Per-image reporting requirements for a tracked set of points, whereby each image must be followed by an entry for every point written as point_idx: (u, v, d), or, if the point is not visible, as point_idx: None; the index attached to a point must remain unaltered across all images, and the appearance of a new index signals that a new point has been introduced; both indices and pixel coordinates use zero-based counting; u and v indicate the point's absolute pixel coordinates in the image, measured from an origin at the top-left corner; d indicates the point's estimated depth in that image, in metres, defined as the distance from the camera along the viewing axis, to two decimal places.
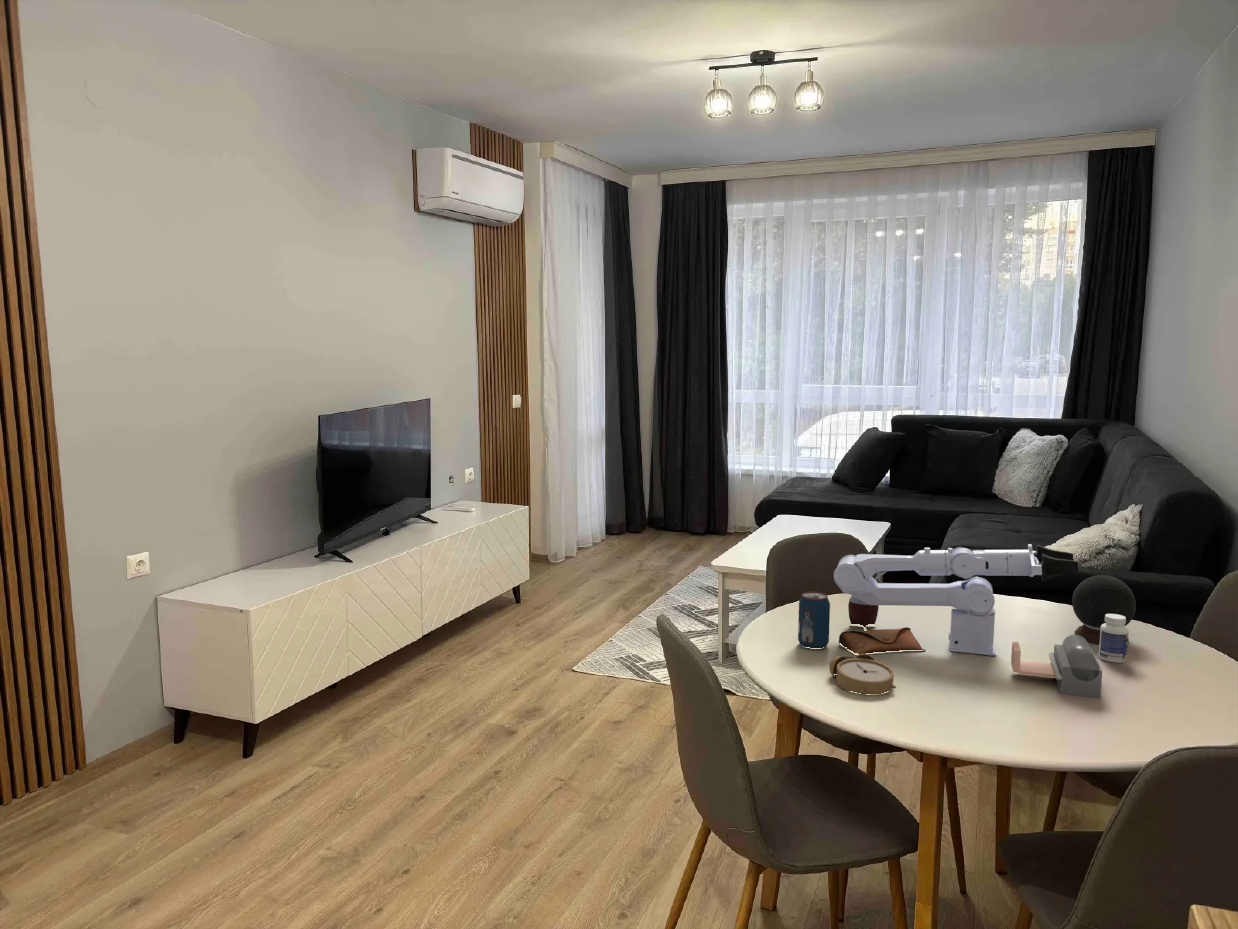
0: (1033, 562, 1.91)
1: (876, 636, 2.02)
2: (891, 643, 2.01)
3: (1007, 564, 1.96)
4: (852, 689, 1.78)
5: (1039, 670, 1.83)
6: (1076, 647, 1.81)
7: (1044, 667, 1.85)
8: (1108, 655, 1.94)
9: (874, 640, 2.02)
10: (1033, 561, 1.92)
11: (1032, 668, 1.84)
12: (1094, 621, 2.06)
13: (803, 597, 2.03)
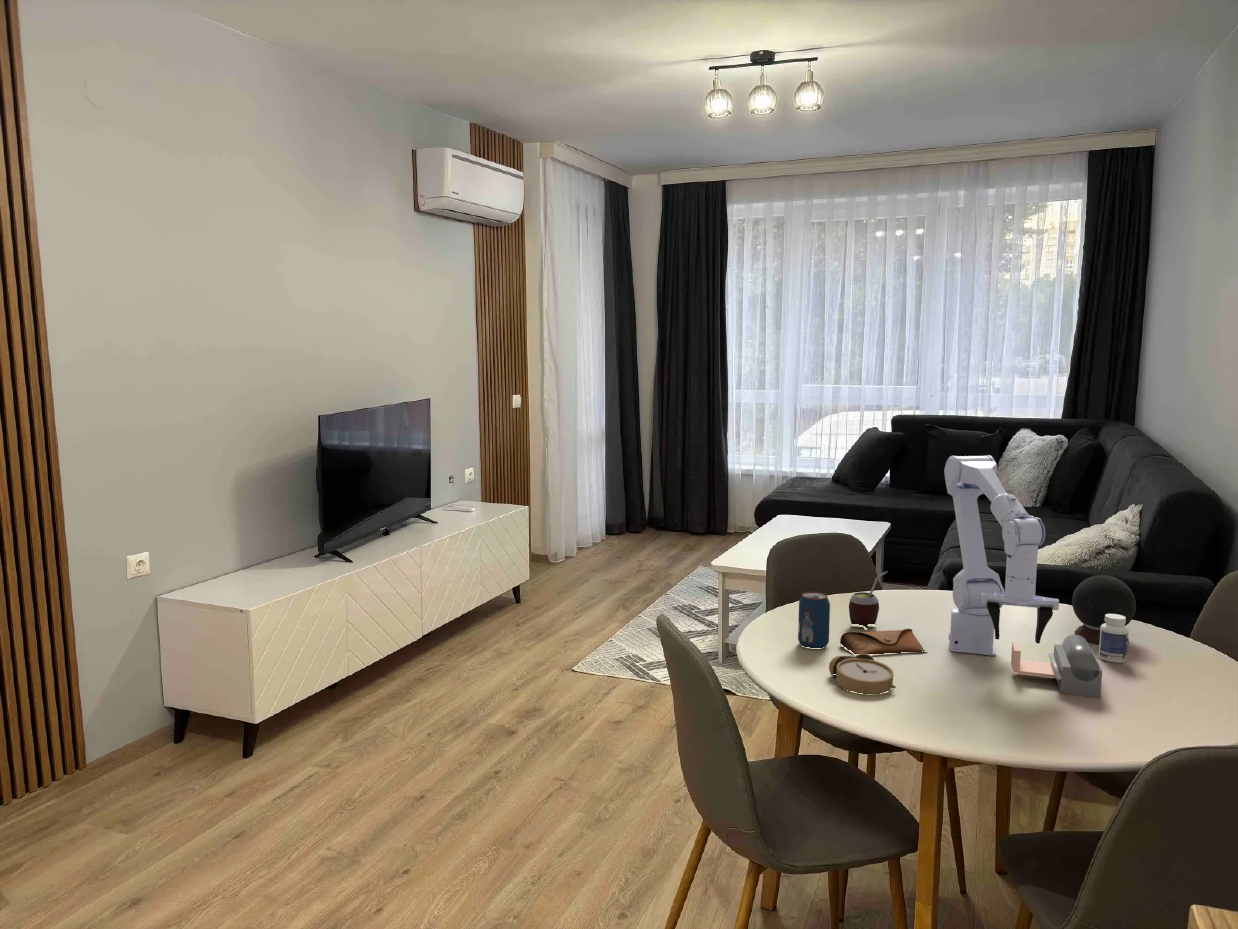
0: (991, 598, 1.85)
1: (878, 637, 2.01)
2: (893, 644, 2.00)
3: None
4: (852, 689, 1.78)
5: (1039, 670, 1.83)
6: (1076, 647, 1.81)
7: (1044, 667, 1.85)
8: (1108, 655, 1.94)
9: (876, 641, 2.01)
10: (993, 598, 1.85)
11: (1032, 668, 1.84)
12: (1094, 621, 2.06)
13: (803, 597, 2.03)
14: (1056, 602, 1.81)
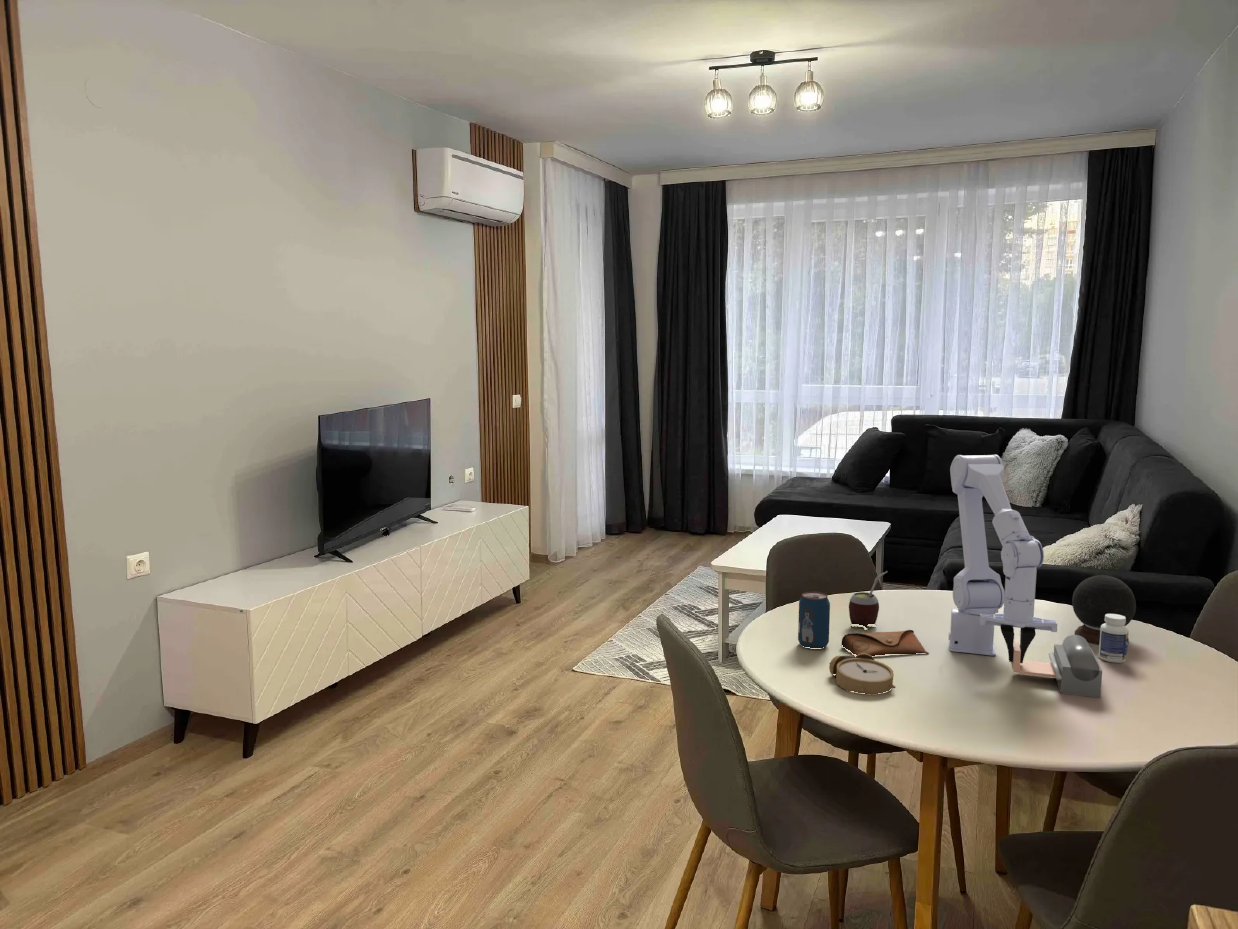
0: (990, 619, 1.86)
1: (879, 639, 2.01)
2: (894, 645, 1.99)
3: (1004, 596, 1.85)
4: (852, 689, 1.78)
5: (1039, 670, 1.83)
6: (1076, 647, 1.81)
7: (1044, 667, 1.85)
8: (1108, 655, 1.94)
9: (877, 643, 2.00)
10: (992, 620, 1.85)
11: (1032, 668, 1.84)
12: (1094, 621, 2.06)
13: (803, 597, 2.03)
14: (1054, 624, 1.82)
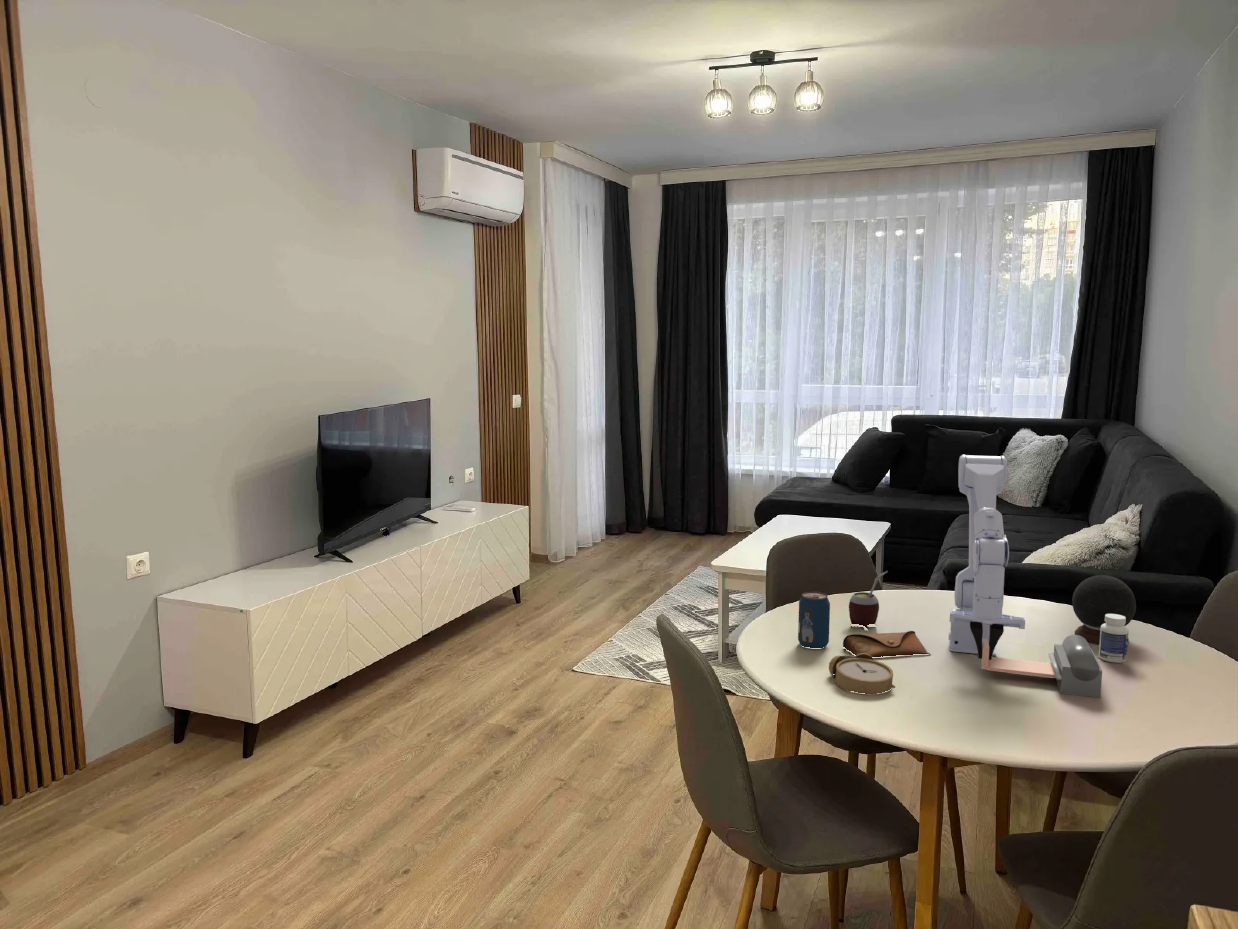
0: (959, 616, 1.88)
1: (881, 640, 2.00)
2: (896, 646, 1.98)
3: (973, 593, 1.87)
4: (851, 689, 1.78)
5: (1007, 667, 1.85)
6: (1076, 647, 1.81)
7: (1013, 664, 1.87)
8: (1108, 655, 1.94)
9: (879, 644, 1.99)
10: (961, 617, 1.87)
11: (1001, 665, 1.86)
12: (1094, 621, 2.06)
13: (803, 597, 2.03)
14: (1022, 621, 1.84)
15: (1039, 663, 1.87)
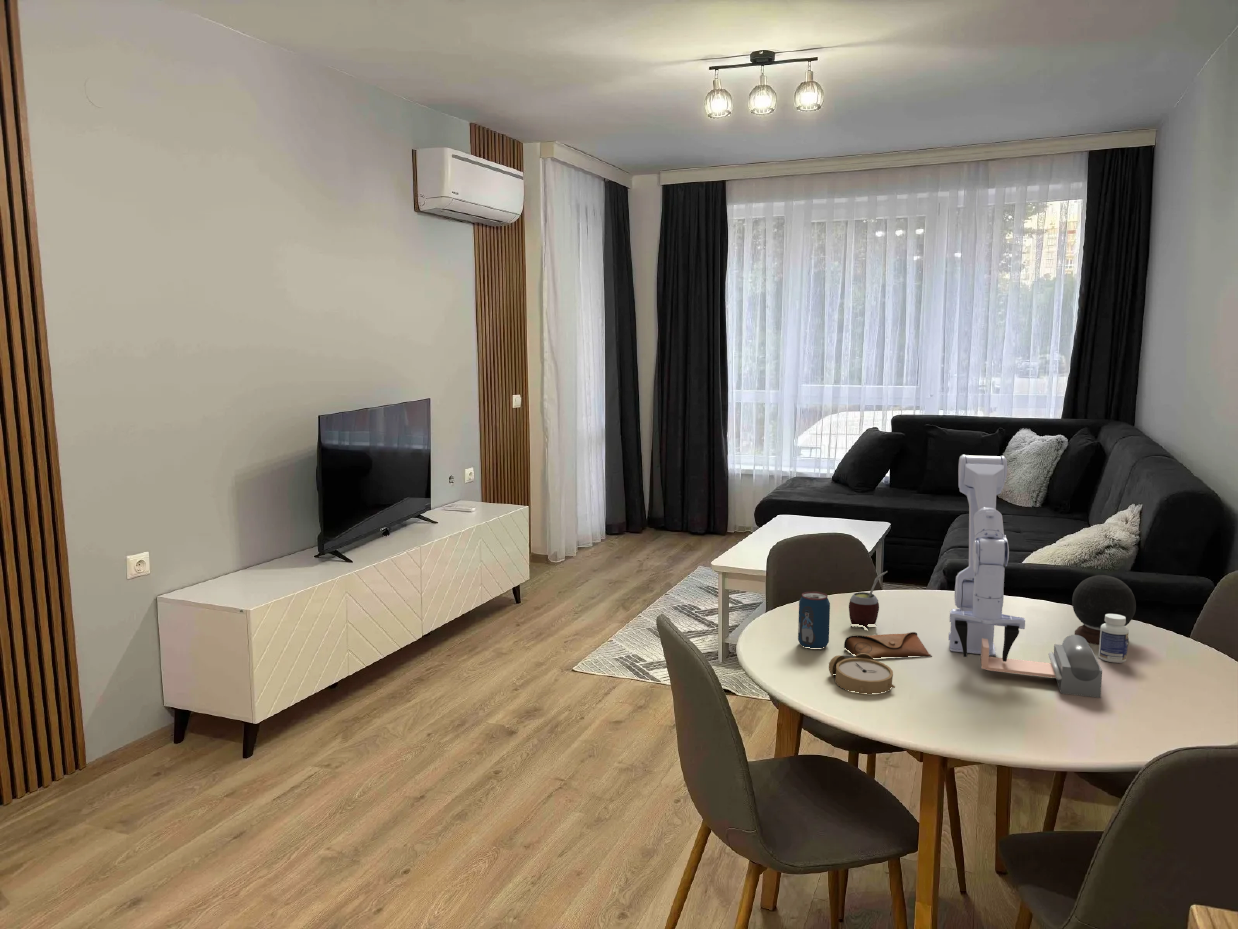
0: (959, 616, 1.88)
1: (882, 641, 1.99)
2: (897, 648, 1.98)
3: (973, 593, 1.87)
4: (851, 688, 1.78)
5: (1007, 667, 1.85)
6: (1076, 647, 1.81)
7: (1012, 664, 1.87)
8: (1108, 655, 1.94)
9: (880, 645, 1.99)
10: (961, 617, 1.87)
11: (1001, 665, 1.86)
12: (1094, 621, 2.06)
13: (803, 597, 2.03)
14: (1022, 621, 1.84)
15: (1039, 663, 1.87)
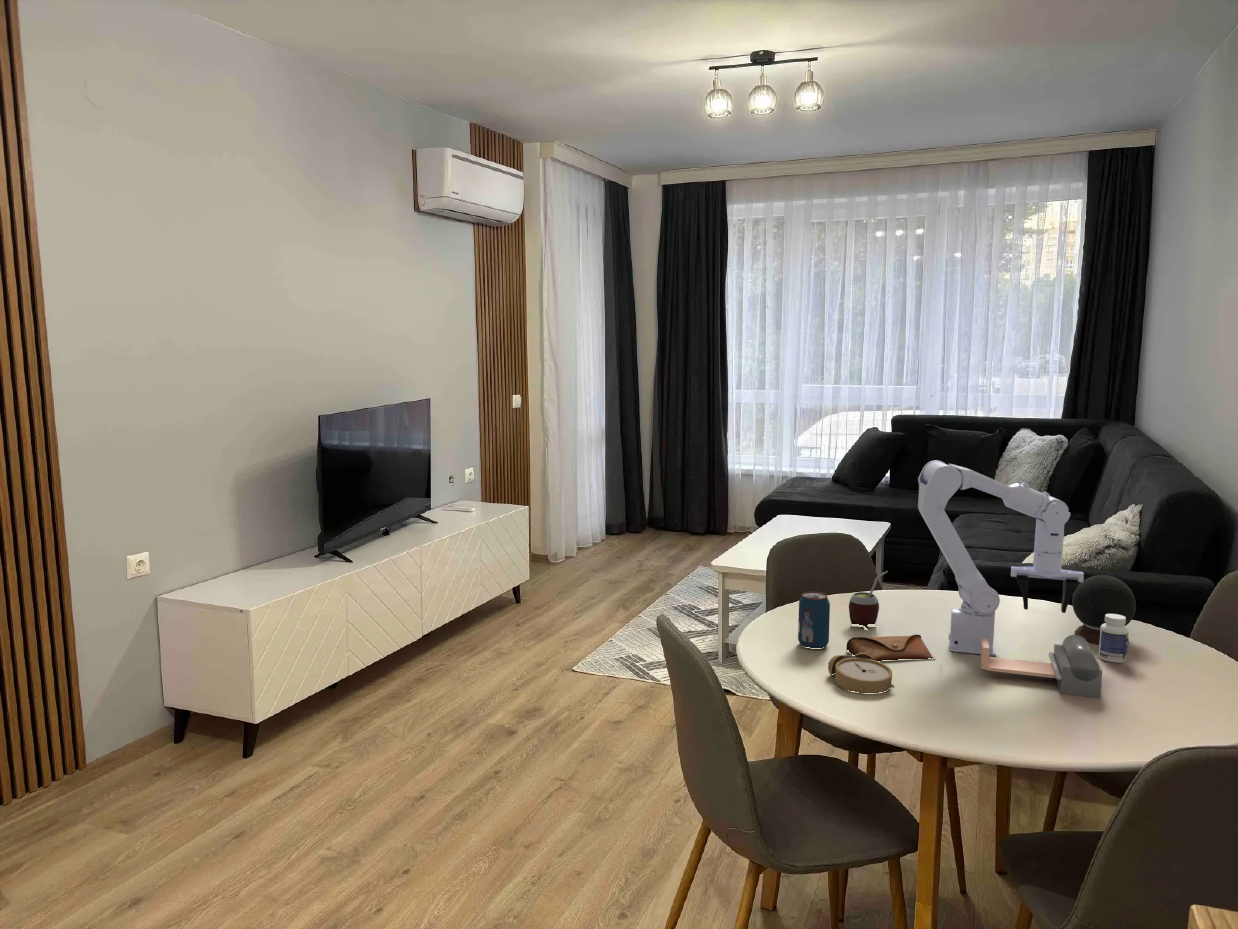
0: (1020, 571, 2.00)
1: (885, 643, 1.97)
2: (900, 650, 1.96)
3: (1034, 549, 2.00)
4: (851, 688, 1.78)
5: (1007, 667, 1.85)
6: (1076, 647, 1.81)
7: (1012, 664, 1.87)
8: (1108, 655, 1.94)
9: (882, 647, 1.97)
10: (1022, 571, 2.00)
11: (1001, 665, 1.86)
12: (1094, 621, 2.06)
13: (803, 597, 2.03)
14: (1081, 574, 1.96)
15: (1039, 663, 1.87)
